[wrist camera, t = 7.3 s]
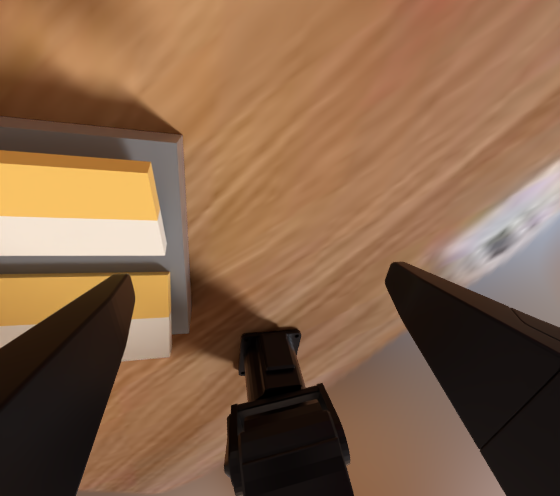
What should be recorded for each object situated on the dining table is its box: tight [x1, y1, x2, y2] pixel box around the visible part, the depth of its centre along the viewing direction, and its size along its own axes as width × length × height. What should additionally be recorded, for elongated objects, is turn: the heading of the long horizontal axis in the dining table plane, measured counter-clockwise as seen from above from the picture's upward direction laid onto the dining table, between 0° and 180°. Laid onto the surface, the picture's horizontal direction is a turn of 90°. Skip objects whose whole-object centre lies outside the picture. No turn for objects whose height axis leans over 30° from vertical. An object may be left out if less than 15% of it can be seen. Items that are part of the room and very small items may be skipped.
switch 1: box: [0, 150, 167, 256], centre depth 13 cm, size 6×12×1 cm, turn 84°
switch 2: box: [0, 272, 172, 361], centre depth 17 cm, size 6×12×1 cm, turn 80°
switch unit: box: [0, 116, 192, 334], centre depth 17 cm, size 15×20×4 cm
